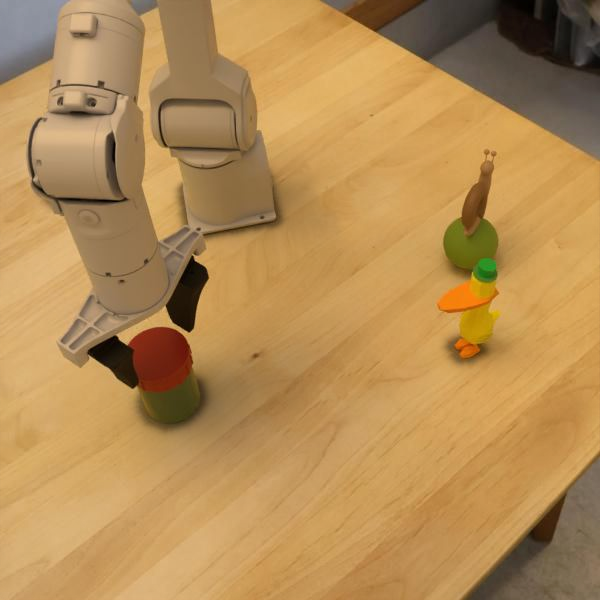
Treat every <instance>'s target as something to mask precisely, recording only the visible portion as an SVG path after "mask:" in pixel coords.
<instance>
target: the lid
mask: <svg viewBox="0 0 600 600" xmlns="http://www.w3.org/2000/svg"><path fill="white" fill-rule="evenodd" d="M127 345H128V346H129V347H131V348H132V349H134V350H135V351H134V353H133V365H134V369H135V371H136V374H137V376H138V379H139V384H138V385H137V386H136V388H137V387H139V388H140V389H142V390H144V391H148V392H156V393H158V392H164V391H168V390H171V389H173V388H175V387H177V386H178V385H180V384H182V382H183V381H184V380H185V379H186V378H187V377H188V375H190V371H191V369H192V368H193V365H194V360H193V352H192V348H191V345H190V344H189V342H188V340H187V338H186V337H185V335H184V334H183V333H181V332H180V331H178V330H177V329H175V328H172V327H167V326H155V327H151V328H147V329H145V330H142V331H141V332H139V333H137V334H136V335H135V336H134V337H133V338H132V339H130V341H129V342H128V344H127Z"/></svg>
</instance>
